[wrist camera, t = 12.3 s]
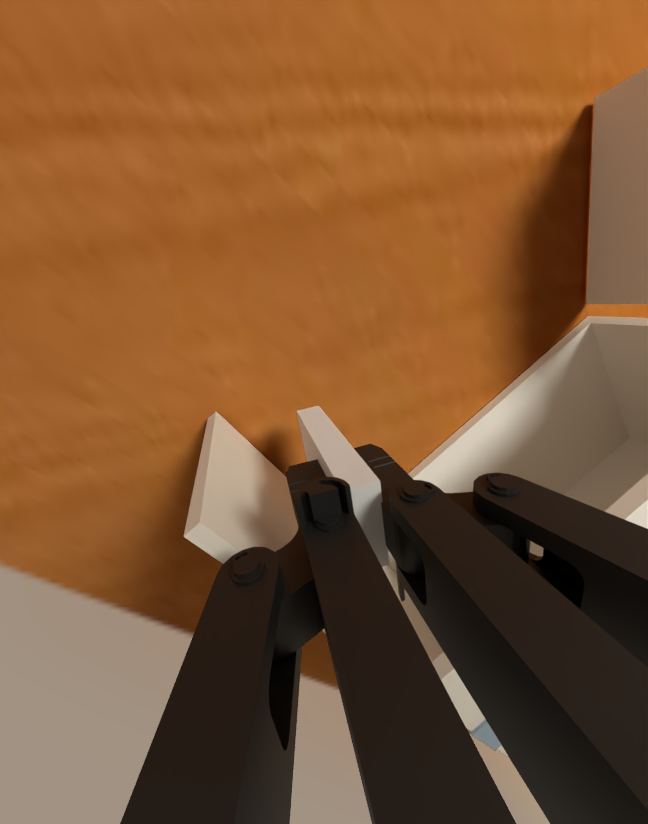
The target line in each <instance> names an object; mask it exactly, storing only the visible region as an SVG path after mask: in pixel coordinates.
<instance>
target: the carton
mask: <svg viewBox="0 0 648 824" xmlns="http://www.w3.org/2000/svg"><path fill="white" fill-rule="evenodd" d="M487 473H505V474H511V475H514V476H517V477H520V478H523V479H525V480H528V481H530V482H533V483H535V484H538V485H540V486H543V487H545V488H548V489H550V490H553V491H555V492H558V493H560V494H562V495H565V496H567V497H570V498H572V499H575V500H577V501H580V502H582V503H585V504H587V505H590V506H592V507H595V508H597V509H600V510H602V511H605V512H607V513H610V514H612V515H614V516H617V517H619V518H622V519H624V520H627V521H629V522H632V523H634V524H637V525H639V526H642V527H644V528H647V529H648V318H634V317H602V316H587V317H586V318H585V319H584V320H583V321H582V322H580V323H579V324H578V325H577V326H576V327H575V328H574V329H573V330H571V331H570V332H569V333H568V334H567V335H566V336H565V337H563V338H562V339H561V340H560V341H559V342H558V343H557V344H555V345H554V346H553V347H552V348H551V349H550V350H549V351H547V352H546V353H545V354H544V355H543V356H542V357H541V358H539V359H538V360H537V361H536V362H535V363H534V364H533V365H531V366H530V367H529V368H528V369H527V370H526V371H525V372H523V373H522V374H521V375H520V376H519V377H518V378H517V379H515V380H514V381H513V382H512V383H511V384H510V385H509V386H507V387H506V388H505V389H504V390H503V391H502V392H501V393H499V394H498V395H497V396H496V397H495V398H494V399H493V400H491V401H490V402H489V403H488V404H487V405H486V406H485V407H483V408H482V409H481V410H480V411H479V412H478V413H477V414H475V415H474V416H473V417H472V418H471V419H470V420H469V421H467V422H466V423H465V424H464V425H463V426H462V427H461V428H459V429H458V430H457V431H456V432H455V433H454V434H453V435H451V436H450V437H449V438H448V439H447V440H446V441H445V442H443V443H442V444H441V445H440V446H439V447H438V448H437V449H435V450H434V451H433V452H432V453H431V454H430V455H429V456H428V457H426V458H425V459H424V460H423V461H422V462H421V463H420V464H418V465H417V466H416V467H415V468H414V469H413V470H412V471H410V472H409V473H408V475H409V476H410V477H411V478H413V479H414V480H423V481H426V482H430V483H432V484H434V485H435V486H437V487H438V488H440V489H441V490H442V491H443V492H444V493H461V492H473V484H474V480H475V479H476V478H477V477H479V476H481V475H484V474H487ZM543 550H544V548H542V547H541V546H539V545H537V544H535V543H533V542H532V541H531V543H530V553H532V554H534V555H537V556H543ZM388 555H389V565H386V566H383V567H382V568H383V570H384V572H385V574H386V576H387V578H388V579H389V581H390V583H391V585H392V587H393V589H394V591H395V593H396V595H397V597H398V599H399V600H400V602H401V599H400V596H399V591H398V582H397V572H396V562H395V560H394V558H393V556H392V555H391V553H390V552H389V550H388ZM404 593H405V600H404V601H402V602H401V604H402V606H403V608H404V610H405V612H406V614H407V616H408V618H409V620H410V622H411V623H412V625H413V627H414V629H415V631H416V633H417V635H418V637H419V639H420V641H421V643H422V645H423V646H424V648H425V650H426V652H427V654H428V656H429V658H430V660H431V662H432V664H433V666H434V667H435V669H436V671H437V673H438V675H439V677H440V679H441V681H442V683H443V685H444V687H445V689H446V690H447V692H448V694H449V696H450V698H451V700H452V702H453V704H454V706H455V708H456V710H457V712H458V713H459V715H460V717H461V719H462V721H463V723H464V725H465V727H466V728H467V729H468V730H470V731H471V734H472V736H474V737H475V738H477V739H478V740H480V741H481V742H483V743H484V744H486V745H487V746H489V747H490V748H492V749H494V750H497V749H498V750H500V751H501V752H502V753H504V754H505V755H507V753H506V751H505V750H504V748H503V747H502V745H501V743H500V742H499V740H498V738H497V737H496V735H495V734H494V732H493V730H492V729H491V727H490V726H489V724H488V722H487V721H486V719H485V718H484V716H483V714H482V713H481V711H480V709H479V708H478V706H477V705H476V703H475V701H474V700H473V698H472V697H471V695H470V693H469V692H468V690H467V689H466V687H465V685H464V684H463V682H462V681H461V679H460V677H459V676H458V674H457V672H456V671H455V669H454V668H453V666H452V664H451V663H450V661H449V660H448V658H447V656H446V655H445V653H444V652H443V650H442V648H441V647H440V645H439V643H438V642H437V640H436V639H435V637H434V635H433V634H432V632H431V631H430V629H429V627H428V626H427V624H426V623H425V621H424V619H423V618H422V616H421V614H420V613H419V611H418V610H417V608H416V606H415V605H414V603H413V602H412V600H411V598H410V597H409V595H408V594H407V592H406V590H405V589H404ZM507 756H508V755H507ZM508 757H509V756H508Z"/></svg>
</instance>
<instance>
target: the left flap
mask: <svg viewBox="0 0 648 824" xmlns="http://www.w3.org/2000/svg"><path fill="white" fill-rule="evenodd" d="M297 531H298V524H297V520H296V517H295V513H294V509H293V505H292V500H291V496H290V492H289V487H288V483H287V478H286V476H285V475H284V474H283V473H282V472H280V471H279V470H278V469H277V468H276V467H275V466H274V465H273V464H272V463H271V462H270V461H269V460H268V459H267V458H265V457H264V456H263V455H262V454H261V453H260V452H259V451H258V450H257V449H256V448H255V447H254V446H253V445H252V444H250V443H249V442H248V441H247V440H246V439H245V438H244V437H243V436H242V435H241V434H240V433H239V432H238V431H237V430H236V429H234V428H233V427H232V426H231V425H230V424H229V423H228V422H227V421H226V420H225V419H224V418H223V417H222V416H221V415H219V414H218V413H217V412H214V413H213V414H212V415H211V416H210V417H209V418H208V420H207V425H206V430H205V435H204V440H203V444H202V449H201V454H200V459H199V464H198V469H197V473H196V478H195V483H194V488H193V493H192V497H191V502H190V507H189V512H188V517H187V522H186V526H185V531H184V536H183V537H185V538H186V539H188V540H189V541H190V542H192V543H193V544H195V545H196V546H198V547H199V548H201V549H202V550H204V551H205V552H207V553H208V554H210V555H211V556H212V557H214V558H215V559H217V560H218V561H220V562H221V563H223V564H224V563H225V562H226V561H227V560H228V559H229V558H230V557H231V556H233V555H234V554H236V553H238V552H240V551H242V550H244V549H248V548H251V547H266V548H268V549H271V550H273V551H274V552H276V551H277V550H279V549H281V548H282V547H284V546H285V545H286V544H288V543H289V542H290V541H291V540H292V539H293V538H294V536H295V535H296V533H297ZM322 631H323V632H324V633H325V629H323V630H322ZM325 634H326V633H325Z"/></svg>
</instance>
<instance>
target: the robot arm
mask: <svg viewBox="0 0 648 824" xmlns="http://www.w3.org/2000/svg"><path fill="white" fill-rule="evenodd" d="M297 414H298V419H299V424H300V429H301V434H302V439H303V444H304V449H305V454H306V459H307V462H305V463H301V464H297V465H294V466H290V467H289V469H288V472H287V474H286V478H287V483H288V487H289V492H290V496H291V500H292V505H293V509H294V513H295V517H296V520H297V524H298V531H297V533H296V535H295V536H294V538H293V539H292V540H291V541H290V542H289V543H288V544H286V545H285V546H284V547H282V548H281V549H279V550H277V551H276V552H274V551H273V550H271V549H268V548H266V547H251V548H248V549H244V550H242V551H240V552H238V553H236V554H234V555H233V556H231V557H230V558H229V559H228V560H227V561H226V562H225V563H224V564H223V565H222V567H221V569H220V570H219V572H218V574H217V576H216V579H215V581H214V584H213V587H212V589H211V592H210V594H209V597H208V599H207V602H206V605H205V607H204V610H203V612H202V615H201V617H200V620H199V623H198V625H197V628H196V630H195V633H194V635H193V638H192V641H191V643H190V646H189V648H188V651H187V653H186V656H185V659H184V661H183V664H182V666H181V669H180V672H179V674H178V677H177V679H176V682H175V684H174V687H173V689H172V692H171V695H170V697H169V700H168V702H167V705H166V708H165V710H164V713H163V715H162V718H161V721H160V723H159V725H158V728H157V731H156V733H155V736H154V739H153V741H152V743H151V746H150V749H149V751H148V754H147V757H146V759H145V762H144V764H143V767H142V769H141V772H140V774H139V777H138V780H137V782H136V785H135V787H134V790H133V793H132V795H131V797H130V800H129V803H128V805H127V808H126V810H125V813H124V816H123V818H122V821H121V823H120V824H289V821H290V808H291V793H292V779H293V765H294V751H295V736H296V723H297V707H298V695H299V681H300V666H301V652H302V650H301V646H303V645H304V644H305V643H306V642H308V641H309V640H310V639H311V638H313V637H314V636H315V635H317V634H318V633H319V632H320V631H322V630H323V629H325V633H326V637H327V641H328V645H329V649H330V653H331V657H332V661H333V665H334V669H335V673H336V678H337V682H338V686H339V690H340V694H341V698H342V702H343V706H344V710H345V714H346V718H347V723H348V726H349V731H350V735H351V739H352V743H353V747H354V751H355V755H356V759H357V763H358V767H359V772H360V776H361V780H362V784H363V788H364V792H365V796H366V800H367V804H368V808H369V812H370V817H371V820H372V824H516V823H515V821H514V819H513V817H512V815H511V813H510V811H509V809H508V807H507V805H506V803H505V802H504V800H503V798H502V796H501V794H500V792H499V790H498V788H497V786H496V784H495V782H494V780H493V779H492V777H491V775H490V773H489V771H488V769H487V767H486V765H485V763H484V761H483V759H482V757H481V756H480V754H479V752H478V750H477V748H476V746H475V744H474V742H473V740H472V738H471V736H470V735H469V733H468V731H467V729H466V727H465V725H464V723H463V721H462V719H461V717H460V715H459V713H458V712H457V710H456V708H455V706H454V704H453V702H452V700H451V698H450V696H449V694H448V692H447V690H446V689H445V687H444V685H443V683H442V681H441V679H440V677H439V675H438V673H437V671H436V669H435V667H434V666H433V664H432V662H431V660H430V658H429V656H428V654H427V652H426V650H425V648H424V646H423V645H422V643H421V641H420V639H419V637H418V635H417V633H416V631H415V629H414V627H413V625H412V623H411V622H410V620H409V618H408V616H407V614H406V612H405V610H404V608H403V606H402V604H401V602H402V601H404V600H405V593H404V589H405V590H406V592H407V594H408V595H409V597H410V598H411V600H412V602H413V603H414V605H415V606H416V608H417V610H418V611H419V613H420V614H421V616H422V618H423V619H424V621H425V623H426V624H427V626H428V627H429V629H430V631H431V632H432V634H433V635H434V637H435V639H436V640H437V642H438V643H439V645H440V647H441V648H442V650H443V652H444V653H445V655H446V656H447V658H448V660H449V661H450V663H451V664H452V666H453V668H454V669H455V671H456V672H457V674H458V676H459V677H460V679H461V681H462V682H463V684H464V685H465V687H466V689H467V690H468V692H469V693H470V695H471V697H472V698H473V700H474V701H475V703H476V705H477V706H478V708H479V709H480V711H481V713H482V714H483V716H484V718H485V719H486V721H487V722H488V724H489V726H490V727H491V729H492V730H493V732H494V734H495V735H496V737H497V738H498V740H499V742H500V743H501V745H502V747H503V748H504V750H505V751H506V753H507V755H508V756H509V758H510V759H511V761H512V763H513V764H514V766H515V767H516V769H517V771H518V772H519V774H520V775H521V777H522V779H523V780H524V782H525V783H526V785H527V787H528V788H529V790H530V792H531V793H532V795H533V796H534V798H535V800H536V801H537V803H538V804H539V806H540V808H541V809H542V811H543V812H544V814H545V816H546V817H547V819H548V821H549V822H550V824H648V529H647V528H644V527H642V526H639V525H637V524H634V523H632V522H629V521H627V520H624V519H622V518H619V517H617V516H614V515H612V514H610V513H607V512H605V511H602V510H600V509H597V508H595V507H592V506H590V505H587V504H585V503H582V502H580V501H577V500H575V499H572V498H570V497H567V496H565V495H562V494H560V493H558V492H555V491H553V490H550V489H548V488H545V487H543V486H540V485H538V484H535V483H533V482H530V481H528V480H525V479H523V478H520V477H517V476H514V475H511V474H505V473H487V474H484V475H481V476H479V477H477V478H476V479H475V480H474V484H473V492H461V493H444V492H443V491H442V490H441V489H440V488H438V487H437V486H435V485H434V484H432V483H430V482H426V481H423V480H414V479H413V478H411V477H410V476H409V475H408V474H407V473H406V472H405V471H404V470H403V469H402V468H401V467H400V466H399V465H398V464H397V463H396V462H395V461H394V460H393V459H392V458H391V457H389V455H388V454H387V453H386V452H385V451H384V450H383V449H382V448H380V447H377V446H375V445H372V444H368V445H365V446H361V447H357V448H353V447H352V446H351V445H350V443H349V442H348V441H347V440H346V438H345V437H344V436H343V435H342V434H341V432H340V431H339V430H338V429H337V427H336V426H335V425H334V424H333V423H332V421H331V420H330V419H329V418H328V416H327V415H326V414H325V413H324V412H323V410H322V409H321V408H320V407H319V406H315V407H311V408H307V409H303V410H298V411H297ZM531 541H532V542H533V543H535V544H537V545H539V546H541V547H542V548H544V550H543V556H537V555H534V554H532V553H530V543H531ZM388 550H389V552H390V553H391V555H392V556H393V558H394V560H395V562H396V572H397V582H398V591H399V596H400V599H401V602H400V600H399V599H398V597H397V595H396V593H395V591H394V589H393V587H392V585H391V583H390V581H389V579H388V578H387V576H386V574H385V572H384V570H383V568H382V567H383V566H386V565H389V555H388Z"/></svg>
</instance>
